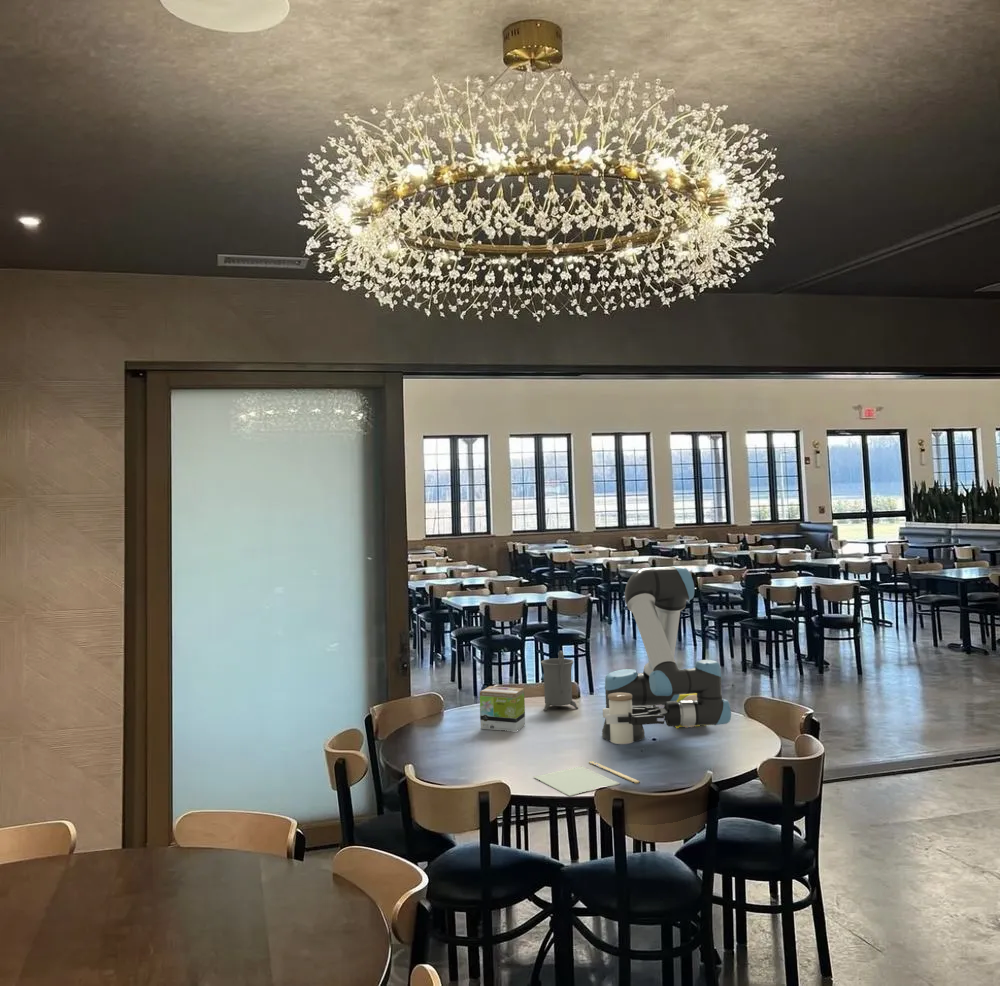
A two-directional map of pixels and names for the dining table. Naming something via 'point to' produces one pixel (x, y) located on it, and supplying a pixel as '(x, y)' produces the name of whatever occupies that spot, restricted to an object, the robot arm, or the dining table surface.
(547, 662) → the grey footed bucket
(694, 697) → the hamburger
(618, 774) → the tan wooden stick
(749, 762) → the dining table surface
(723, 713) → the robot arm
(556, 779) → the mat
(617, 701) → the canister
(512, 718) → the tea box
